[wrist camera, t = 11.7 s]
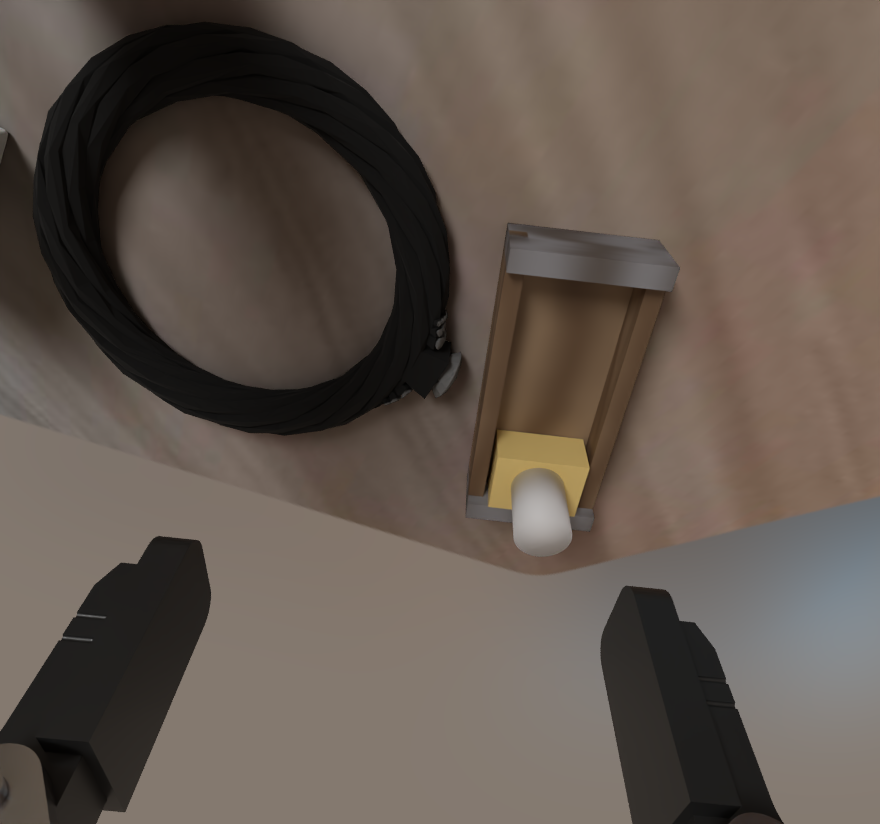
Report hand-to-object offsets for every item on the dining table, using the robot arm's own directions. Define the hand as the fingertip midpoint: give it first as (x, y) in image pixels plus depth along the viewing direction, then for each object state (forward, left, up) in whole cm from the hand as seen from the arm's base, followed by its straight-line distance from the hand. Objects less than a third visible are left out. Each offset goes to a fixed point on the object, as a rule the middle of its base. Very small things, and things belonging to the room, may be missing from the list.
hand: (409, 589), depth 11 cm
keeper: (+8, -20, -30) cm, 37 cm away
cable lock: (-13, -7, -32) cm, 35 cm away
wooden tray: (+8, -13, -32) cm, 35 cm away
